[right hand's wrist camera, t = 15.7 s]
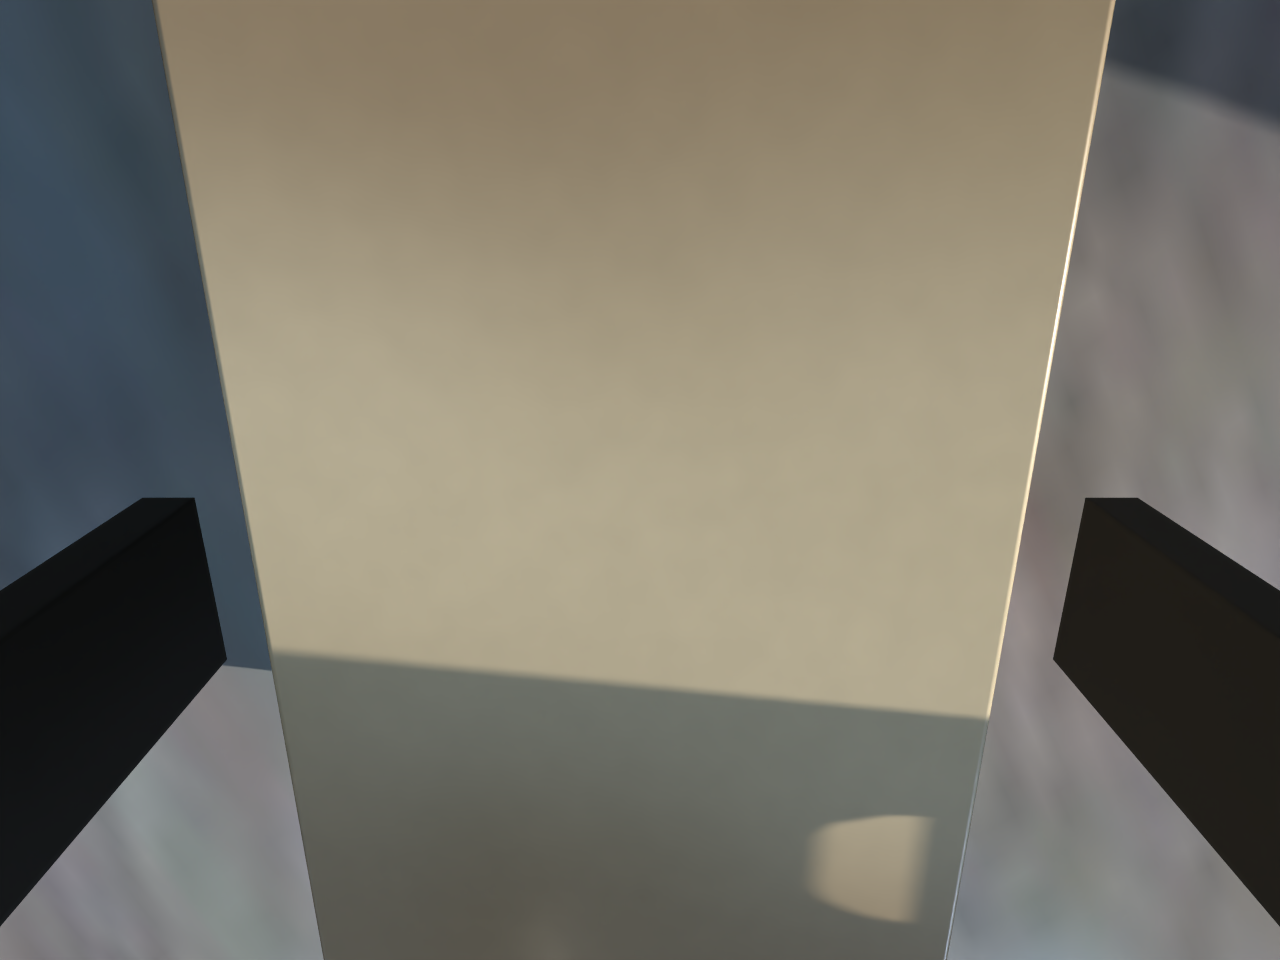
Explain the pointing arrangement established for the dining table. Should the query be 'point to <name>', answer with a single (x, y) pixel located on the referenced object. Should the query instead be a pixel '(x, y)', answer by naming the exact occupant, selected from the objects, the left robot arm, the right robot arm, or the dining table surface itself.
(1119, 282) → the dining table surface
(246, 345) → the birch rail
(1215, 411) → the dining table surface
